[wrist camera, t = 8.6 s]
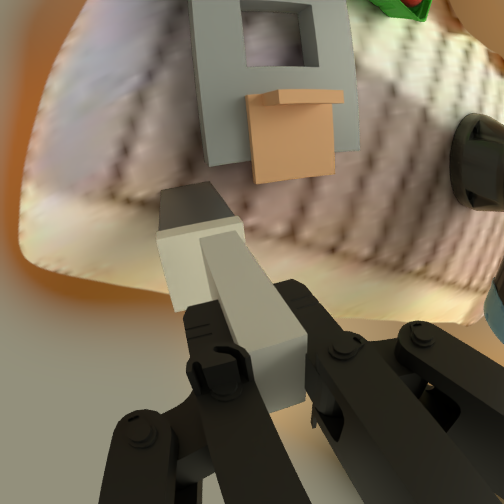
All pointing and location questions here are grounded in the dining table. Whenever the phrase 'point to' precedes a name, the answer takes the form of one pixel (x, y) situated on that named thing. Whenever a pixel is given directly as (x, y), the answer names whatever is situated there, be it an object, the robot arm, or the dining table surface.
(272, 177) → the tan plate with tab
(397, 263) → the dining table surface
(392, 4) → the fruit basket
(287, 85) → the socket
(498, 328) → the robot arm
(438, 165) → the dining table surface
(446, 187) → the dining table surface
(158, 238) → the plug
